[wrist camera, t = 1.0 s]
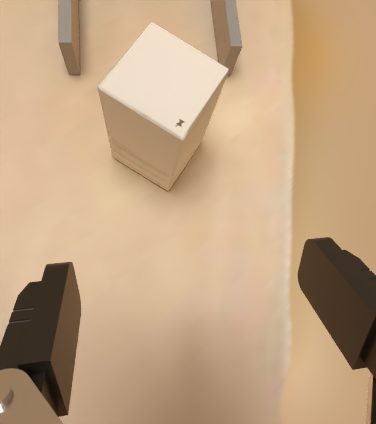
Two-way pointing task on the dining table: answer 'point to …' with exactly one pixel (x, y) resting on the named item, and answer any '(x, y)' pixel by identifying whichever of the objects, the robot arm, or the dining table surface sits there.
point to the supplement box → (159, 104)
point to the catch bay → (222, 19)
